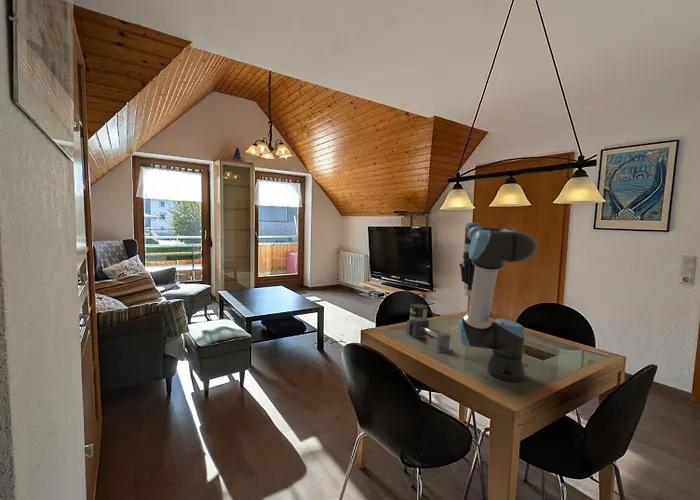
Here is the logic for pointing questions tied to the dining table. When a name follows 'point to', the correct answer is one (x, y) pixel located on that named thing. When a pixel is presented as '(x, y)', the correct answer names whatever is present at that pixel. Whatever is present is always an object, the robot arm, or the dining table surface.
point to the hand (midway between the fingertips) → (467, 295)
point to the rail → (427, 341)
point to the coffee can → (418, 311)
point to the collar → (416, 327)
